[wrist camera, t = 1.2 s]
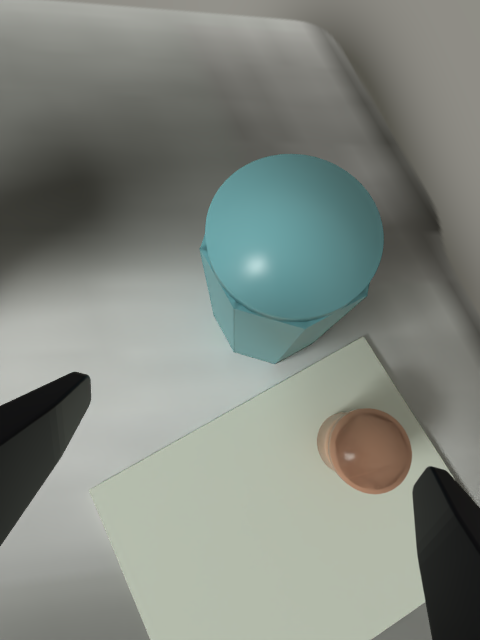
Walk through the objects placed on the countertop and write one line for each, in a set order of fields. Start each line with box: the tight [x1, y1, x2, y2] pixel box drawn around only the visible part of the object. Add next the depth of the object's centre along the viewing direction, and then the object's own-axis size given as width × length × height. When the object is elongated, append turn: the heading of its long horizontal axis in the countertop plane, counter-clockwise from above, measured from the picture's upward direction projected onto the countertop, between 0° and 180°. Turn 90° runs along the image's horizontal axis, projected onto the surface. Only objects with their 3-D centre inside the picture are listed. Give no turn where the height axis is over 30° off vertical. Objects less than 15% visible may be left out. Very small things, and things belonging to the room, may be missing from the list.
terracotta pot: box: [317, 408, 412, 494], centre depth 20 cm, size 4×4×4 cm
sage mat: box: [89, 336, 456, 640], centre depth 21 cm, size 19×14×1 cm
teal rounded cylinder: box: [200, 154, 384, 364], centre depth 19 cm, size 7×7×11 cm
